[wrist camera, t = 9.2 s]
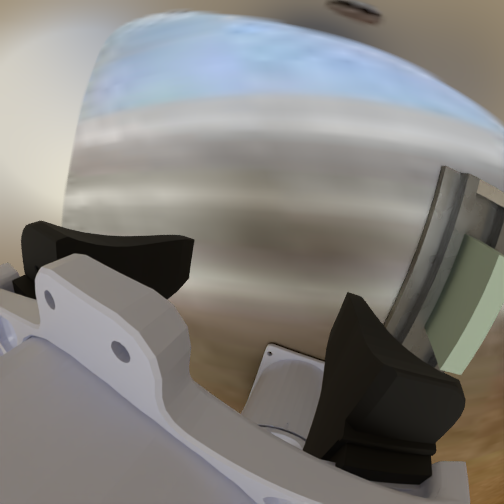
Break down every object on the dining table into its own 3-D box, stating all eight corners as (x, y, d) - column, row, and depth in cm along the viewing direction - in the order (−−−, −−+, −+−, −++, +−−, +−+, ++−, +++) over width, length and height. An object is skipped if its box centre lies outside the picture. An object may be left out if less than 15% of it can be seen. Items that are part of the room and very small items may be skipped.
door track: (420, 395, 21) (424, 411, 19) (354, 377, 23) (352, 395, 21) (514, 204, 14) (529, 209, 12) (441, 166, 16) (453, 165, 14)
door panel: (441, 330, 18) (461, 374, 13) (423, 324, 19) (439, 369, 13) (481, 241, 16) (519, 265, 10) (463, 232, 16) (499, 254, 11)
